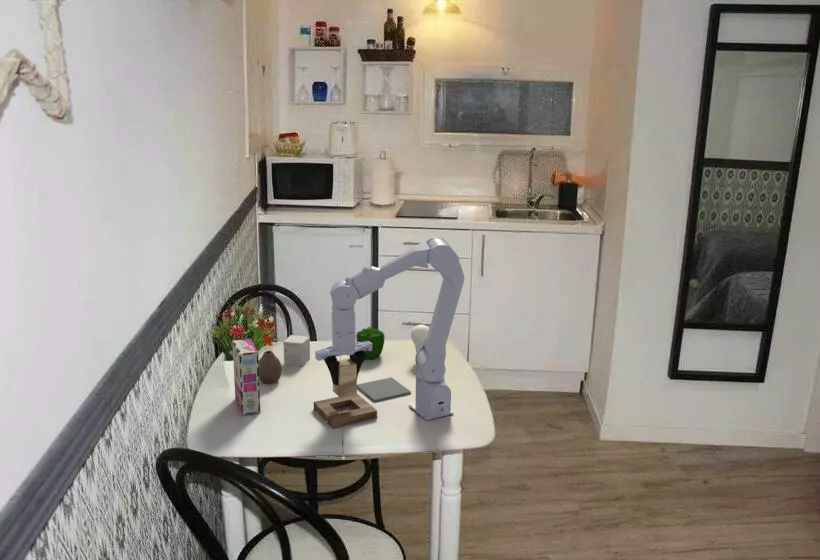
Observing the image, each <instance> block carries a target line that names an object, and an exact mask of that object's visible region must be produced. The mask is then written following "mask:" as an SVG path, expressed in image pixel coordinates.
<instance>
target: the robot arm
mask: <svg viewBox="0 0 820 560" xmlns="http://www.w3.org/2000/svg"><path fill="white" fill-rule="evenodd" d="M429 264H430V266H431V267H432V268H433V269H434V270H435V271H437V272H438V273H439V274H440V275H441V277H442V282H441V286H440V289H439V293H438V297H437V300H436V304H435V308H434V311H433V315H432V318H431V322H430V325H429V327H428V328H429V332H428V335H427V338H426V339H425V340H424V341H423V345H422V347H421V348H420V349H419V350H418V352H415V353H416V354H415V357H414V358H415V362H416V364H417V367H418V370H417V372H416V373H415V402H412V403H408V407H409V408H411V409H412V410H413V411H414V412H415V413H417V414H418V415H419V416H420V417H422V418H424V419H425V420H427V421H430V420H434V419H437V418H442V417H445V416H450V415H453V414H454V412H455V411H453V410H452V390H451V388H450V387H449V386H448V385H447V383H446V380H445V374H446V364H445V363H446V362H445V361H446V358H447V353H446V352H447V346H446V345H447V342H448V339H449V335H450V331H451V329H452V325H453V320H454V318H455V314H456V310H457V307H458V303H459V299H460V297H461V293H462V290H463V288H464V287H463V286H464V283H465V273H464V271H463V268H462V265H461V261H460V257H459V256H458V254H457V253H456V252H455V250H454V249H453V248H452V247H451V246H450V245H449V243H448V242H447V241H446V240H445V239H444V238H443V237H441V236H434V237H431V238H429V239H428V240H424V241H422V242H420V243H418V244H417V245H414V247H412V248H410V249H409V250H407V251H405V252H403V253H401V254H400V255H398V256H397V257H394V258H393V259H392V260H389V261H388V262H386V263H385V264H383V265H381V266H380V267H376V266H373V265H371V266H369V267H367V265H366V266H363V267H361V271H359V272H358V273H356V274H354V275H352V276H351V277H349V276H346V277H344V280H339V281H337V282H335V283H334V284H333V285H332V287H331V289H330V291H329V292H330V298H331V303H332V304H331V310H332V311H331V335H332V336H331V339H332V341H331V342H332V343H331V344H332V345H330V346H327V347H325V348H322V349H319V350H315V351H314V355H315V356H314V358H315V360H317V362H320V361H324V363H325V365H326V366H327V369H328V371H329V374H330V377H331V382H332V385H333V384H334V385H338V381H339V379H338V370H339V364H340V362H339V361H338V358H337V357H341V356H345V355H346V356H349V357H348V358H349V359H350V360H352V361H353V362H354V363H356V364H357V379H358V377H359V373H360V370H361V367H362V365H363V363H364V361H365V360H366V354H364V351H372V343H371V342H369V341H366V342H357V337H356V335H357V332H356V311H355V305H356V303H357V300H361V299H362V298H365V297H367V296H368V295H371V294H372V293H374V292H376V291H378V290H380V289H382V288H384V284H385V282H386V280H388V279H390V278H392V277H395V276H396V275H399V274H401V273H404V272H405V271H407V270H410V269H411V268H414V267H419V268H424V269H429Z"/></svg>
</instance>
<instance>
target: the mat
mask: <svg viewBox="0 0 820 560" xmlns="http://www.w3.org/2000/svg"><path fill="white" fill-rule="evenodd" d="M357 390H360V392H362V394H364V395H365V396H366V397H368V399H370V400H371V401H373V403H376V401H377V402H380V401H386V400H389V399H394V398H399V397H403V396H407V395H412V391H410V389H408V388H407V387H405V385H403V384H402V383H400V382H399V381H397V380H396V379H395V378H393V377H387V378H381V379H377V380H373V381H369V382H368V381H367V382H364V383H359V384H358V383H357ZM402 395H403V396H402ZM398 396H399V397H398Z"/></svg>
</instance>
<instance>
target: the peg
mask: <svg viewBox="0 0 820 560" xmlns="http://www.w3.org/2000/svg"><path fill="white" fill-rule="evenodd" d="M337 361H339V362H340V364H339V370H338V379H339V381H338V385H334V384H333V383H332V392H333V393H334V394H336V395H337V397H340V398H342V397H347V396H351V395H356V394H358V388H357V385H358V378H357V364H356V363H354V362H353V361H352V360H350V357H348V358H343V359H339V360H338V359H337Z"/></svg>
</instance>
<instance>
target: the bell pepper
mask: <svg viewBox="0 0 820 560" xmlns="http://www.w3.org/2000/svg"><path fill="white" fill-rule="evenodd" d="M366 341H369V342H371V343H372V351H364V354H366V358H365V360H366V359H367V360H374V359H376V358H378V357H380V356H381V354H382V352H383V348H384V345H385V333H384V332H383V331H381V330H380V329H379V328H372V327H371V326H370V325H369V326H367V327H366V328H362V329H361V330H360V331H357V332H356V342H366Z"/></svg>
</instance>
